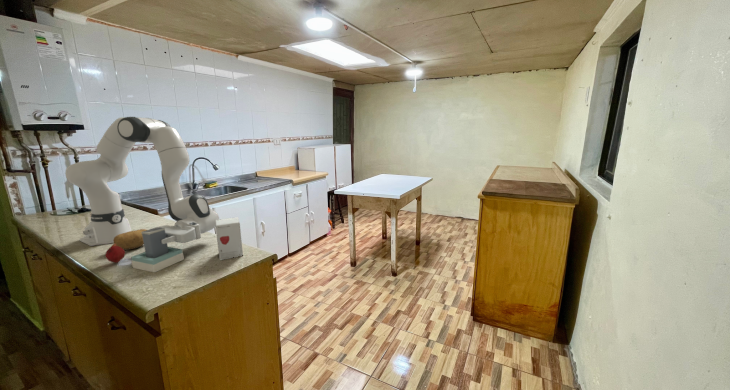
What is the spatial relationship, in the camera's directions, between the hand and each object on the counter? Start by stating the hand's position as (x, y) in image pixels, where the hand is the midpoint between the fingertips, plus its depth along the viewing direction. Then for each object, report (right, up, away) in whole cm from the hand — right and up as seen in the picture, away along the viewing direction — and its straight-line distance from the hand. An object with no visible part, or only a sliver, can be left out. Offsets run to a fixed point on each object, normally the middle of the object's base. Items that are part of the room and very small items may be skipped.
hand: (152, 240), depth 112 cm
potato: (-22, -7, +19) cm, 30 cm away
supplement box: (+26, -8, +11) cm, 29 cm away
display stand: (0, -10, +3) cm, 10 cm away
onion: (-17, -10, +4) cm, 20 cm away
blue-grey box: (0, -7, +2) cm, 7 cm away
